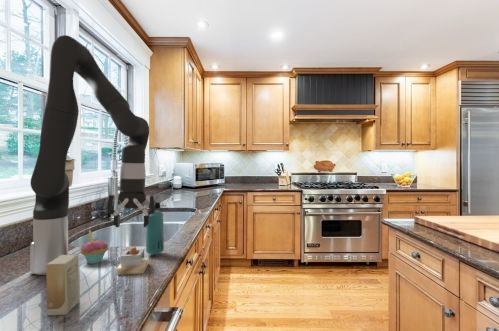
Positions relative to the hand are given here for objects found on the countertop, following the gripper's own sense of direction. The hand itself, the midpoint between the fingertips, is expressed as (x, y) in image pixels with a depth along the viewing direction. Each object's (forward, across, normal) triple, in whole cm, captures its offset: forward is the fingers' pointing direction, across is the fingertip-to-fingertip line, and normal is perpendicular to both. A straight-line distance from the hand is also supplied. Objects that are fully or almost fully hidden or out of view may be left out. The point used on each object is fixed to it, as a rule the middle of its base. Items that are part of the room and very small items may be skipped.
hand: (131, 226), depth 92 cm
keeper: (+14, +1, +1) cm, 14 cm away
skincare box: (+15, -10, -23) cm, 29 cm away
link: (+12, +1, +1) cm, 12 cm away
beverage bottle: (+14, +5, +14) cm, 20 cm away
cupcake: (+15, -14, +10) cm, 23 cm away
